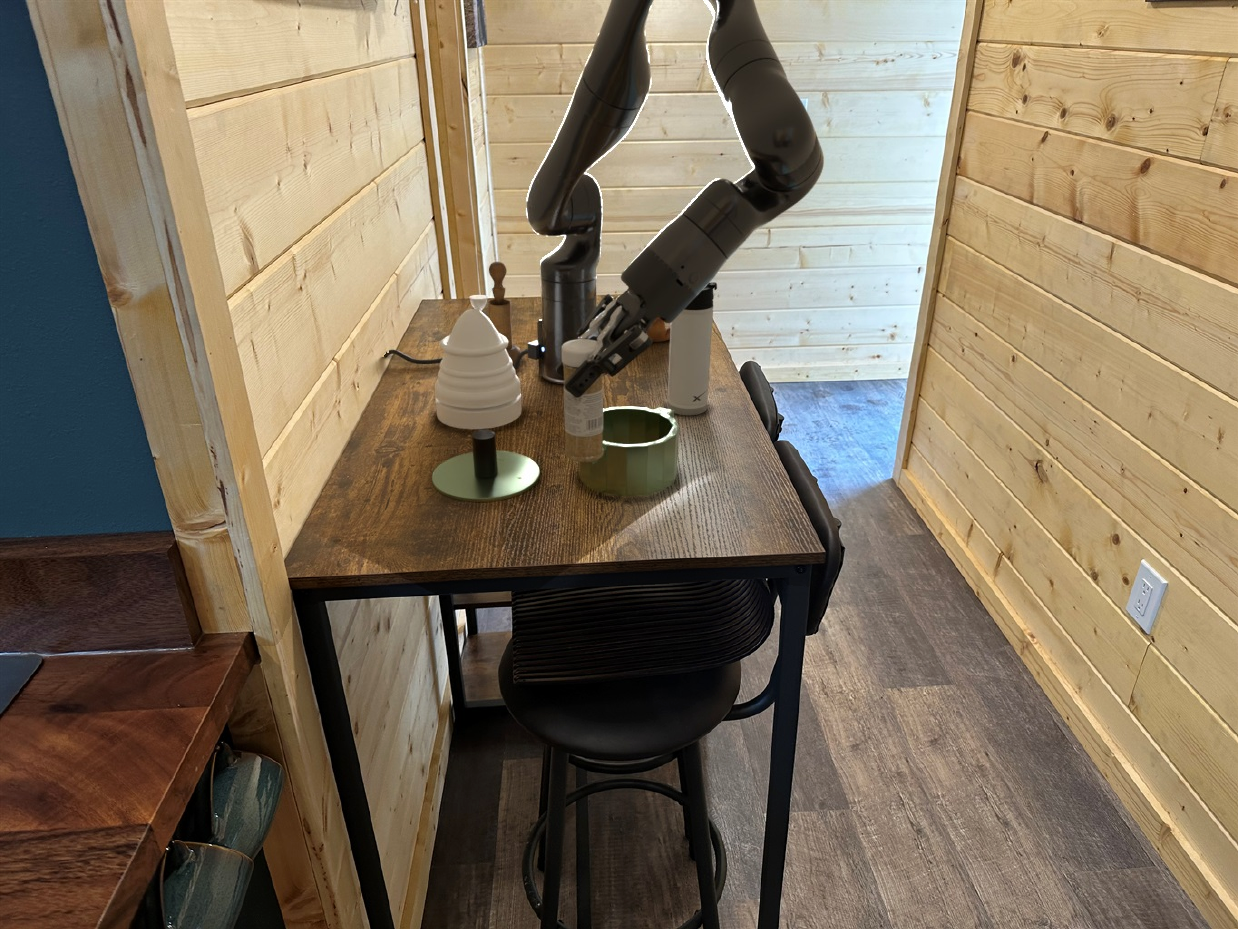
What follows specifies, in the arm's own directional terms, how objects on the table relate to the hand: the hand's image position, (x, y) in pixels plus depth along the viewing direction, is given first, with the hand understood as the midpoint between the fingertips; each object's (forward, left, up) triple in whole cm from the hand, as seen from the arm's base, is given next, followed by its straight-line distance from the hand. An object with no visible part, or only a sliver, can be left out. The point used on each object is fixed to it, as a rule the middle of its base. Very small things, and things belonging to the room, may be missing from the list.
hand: (566, 383), depth 91 cm
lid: (-15, +1, -17) cm, 22 cm away
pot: (-1, +13, -17) cm, 22 cm away
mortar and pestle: (-45, +36, -18) cm, 60 cm away
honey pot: (-31, +16, -17) cm, 39 cm away
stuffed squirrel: (-33, +62, -18) cm, 73 cm away
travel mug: (-7, +38, -18) cm, 43 cm away
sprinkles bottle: (+1, +2, -9) cm, 9 cm away
